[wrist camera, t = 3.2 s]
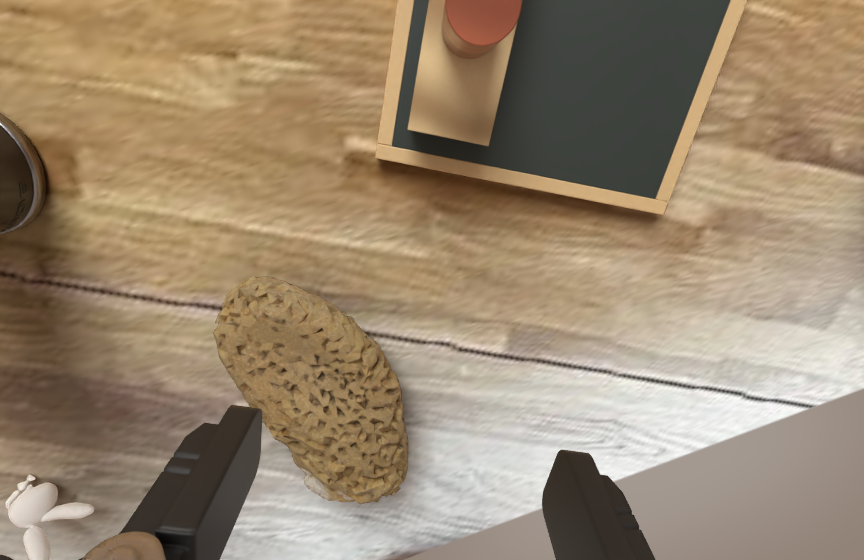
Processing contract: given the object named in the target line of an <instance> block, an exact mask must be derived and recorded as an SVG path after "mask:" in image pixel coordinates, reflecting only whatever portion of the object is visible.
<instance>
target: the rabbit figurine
mask: <svg viewBox="0 0 864 560" xmlns="http://www.w3.org/2000/svg"><path fill="white" fill-rule="evenodd" d="M32 480H35V477H34V476H32V475H30V474H29V476H28V477H27V479H26V481H24V482H21V483H19V484H18V485H17V487H18V490H17V491H15V492H13V494H12V495H11V496H10V497H9V498H8V500H7V501H6V503H5V506H6V507H7V508H9V510H8V516H9V519H10V520H11V522H12V523H13V524H14V525H15V526H17V527H20V528H29V529H28V530H27V531H26V532H25V534H24V537H23V543H24V546H25V549H26V552H27V554H28V557H29V560H49V558H50V545H49V541H48V539H47V536H46V534H45V533H44V532H43V530H42V529H41V528H40V527H37V526H35V527H33V526H34V525H35V524H36V523H37V522H39V521H41V522H46V521H52V520H57V519H81V518H84V517H86V516H89V515H90V514H92V513H93V512H94V508H93V506H92V505H91V504H85V503H80V502H74V503H69V502H68V504H63V505H59V506H56V507H54V505H55V503H56V501H57V497H58V489H57V487H56V486H55V485H54V484H52V483H43V484H40V485H38V486H36V487H33V486H32V485H28V482H29V481H32ZM24 490H25V491H24ZM20 491H24V492H23V493H22V494H20ZM18 495H19V496H18ZM71 498H72V497H71ZM15 499H16V500H15ZM14 500H15V501H14ZM13 501H14V502H13ZM12 502H13V503H12ZM53 507H54V508H53ZM52 508H53V509H52Z"/></svg>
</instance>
